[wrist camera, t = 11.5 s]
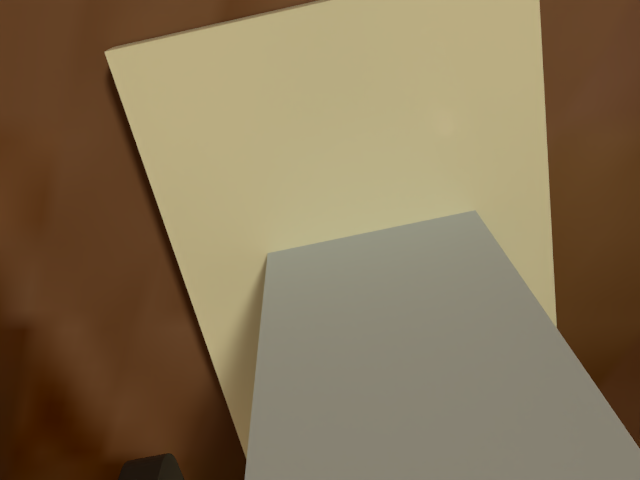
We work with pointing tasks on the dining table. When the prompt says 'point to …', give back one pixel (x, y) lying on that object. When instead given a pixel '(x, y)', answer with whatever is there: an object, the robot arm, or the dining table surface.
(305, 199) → the tile
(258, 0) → the dining table surface
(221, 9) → the dining table surface
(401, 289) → the block
